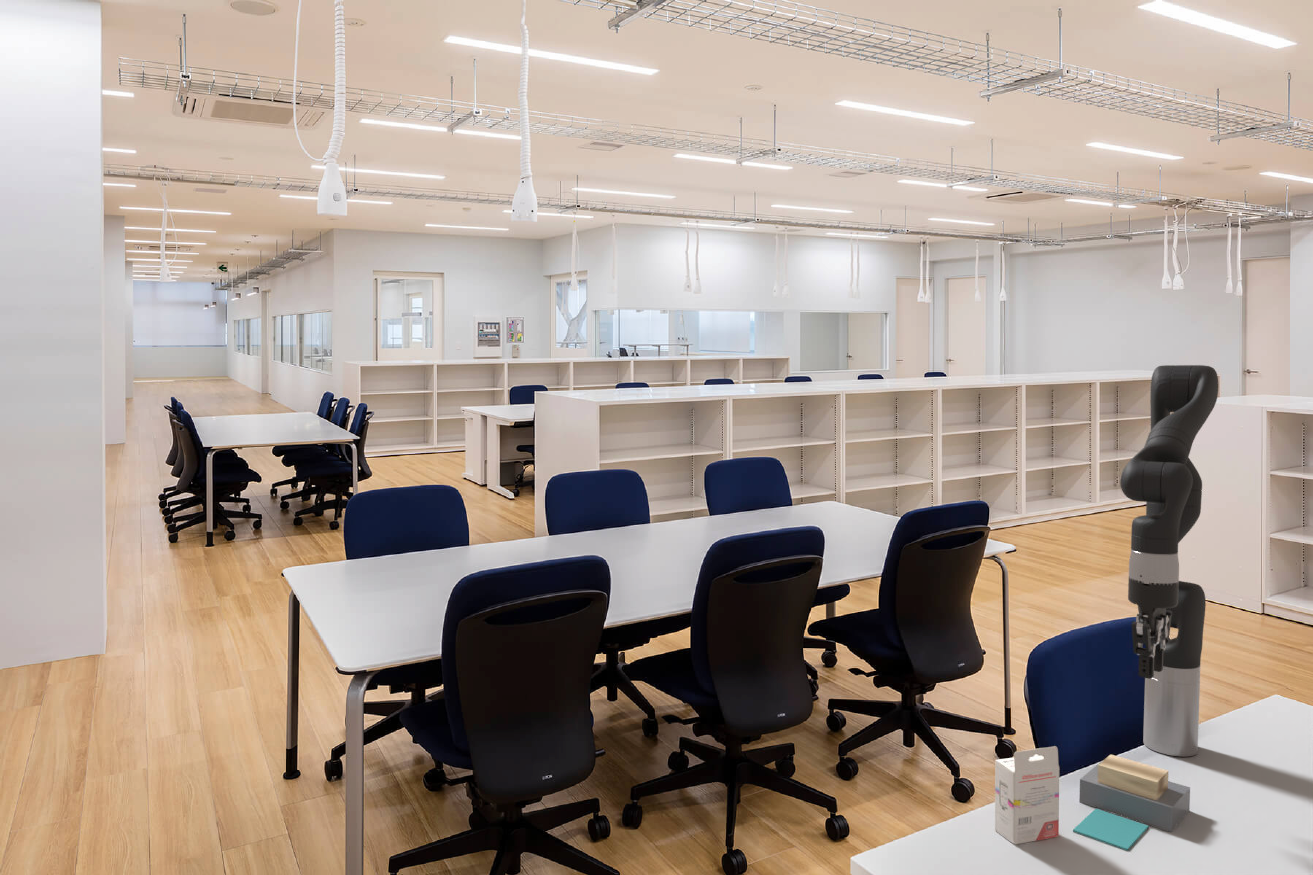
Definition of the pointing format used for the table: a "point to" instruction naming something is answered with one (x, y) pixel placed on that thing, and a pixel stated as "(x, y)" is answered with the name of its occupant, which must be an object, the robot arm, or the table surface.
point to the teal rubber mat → (1111, 829)
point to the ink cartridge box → (1027, 795)
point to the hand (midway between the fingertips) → (1150, 673)
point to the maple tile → (1133, 776)
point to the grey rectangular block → (1137, 802)
